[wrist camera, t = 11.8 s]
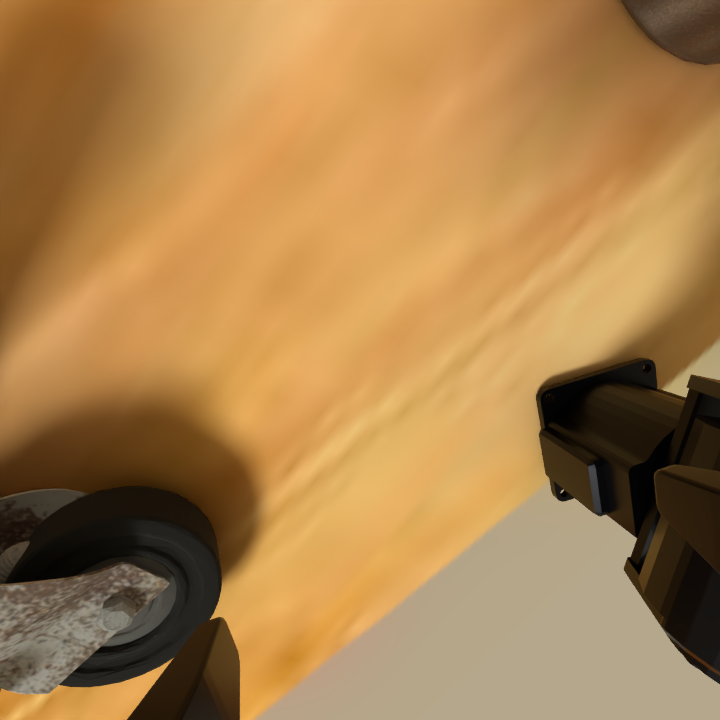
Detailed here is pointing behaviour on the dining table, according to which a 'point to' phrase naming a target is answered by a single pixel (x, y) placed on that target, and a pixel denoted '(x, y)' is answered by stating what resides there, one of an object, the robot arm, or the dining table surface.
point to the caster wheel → (100, 584)
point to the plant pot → (681, 26)
